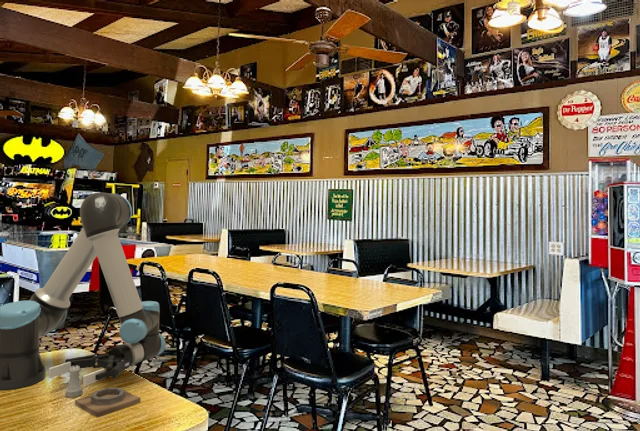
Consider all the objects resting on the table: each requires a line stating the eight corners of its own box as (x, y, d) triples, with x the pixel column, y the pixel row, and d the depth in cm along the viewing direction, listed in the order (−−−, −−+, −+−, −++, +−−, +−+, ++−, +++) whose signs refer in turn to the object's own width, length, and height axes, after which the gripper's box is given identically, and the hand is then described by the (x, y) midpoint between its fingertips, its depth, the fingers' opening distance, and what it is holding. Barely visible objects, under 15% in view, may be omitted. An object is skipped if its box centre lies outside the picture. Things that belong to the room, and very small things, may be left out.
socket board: (75, 404, 123) (75, 394, 123) (117, 391, 133) (117, 381, 133) (97, 417, 116) (97, 406, 116) (140, 402, 126) (140, 392, 126)
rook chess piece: (75, 398, 127) (75, 370, 127) (61, 396, 128) (61, 368, 128) (86, 392, 132) (86, 365, 132) (73, 390, 133) (73, 363, 132)
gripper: (155, 373, 142) (99, 398, 123) (96, 361, 152) (35, 383, 132) (155, 349, 142) (99, 370, 123) (97, 339, 152) (36, 357, 132)
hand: (66, 377), depth 127 cm, fingers open, 13 cm apart
